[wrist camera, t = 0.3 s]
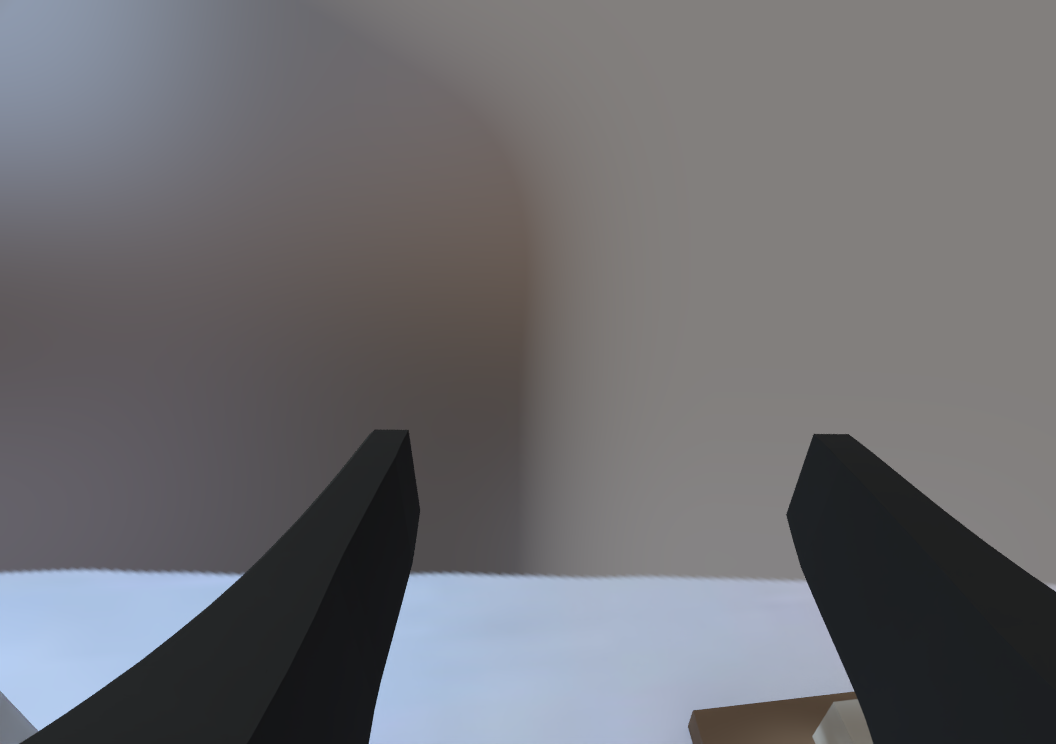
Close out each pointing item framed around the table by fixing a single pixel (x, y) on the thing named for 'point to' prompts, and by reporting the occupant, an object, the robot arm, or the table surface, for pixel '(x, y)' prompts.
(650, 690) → the table surface
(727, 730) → the gauge board
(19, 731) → the drinking glass
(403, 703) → the table surface
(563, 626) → the table surface
